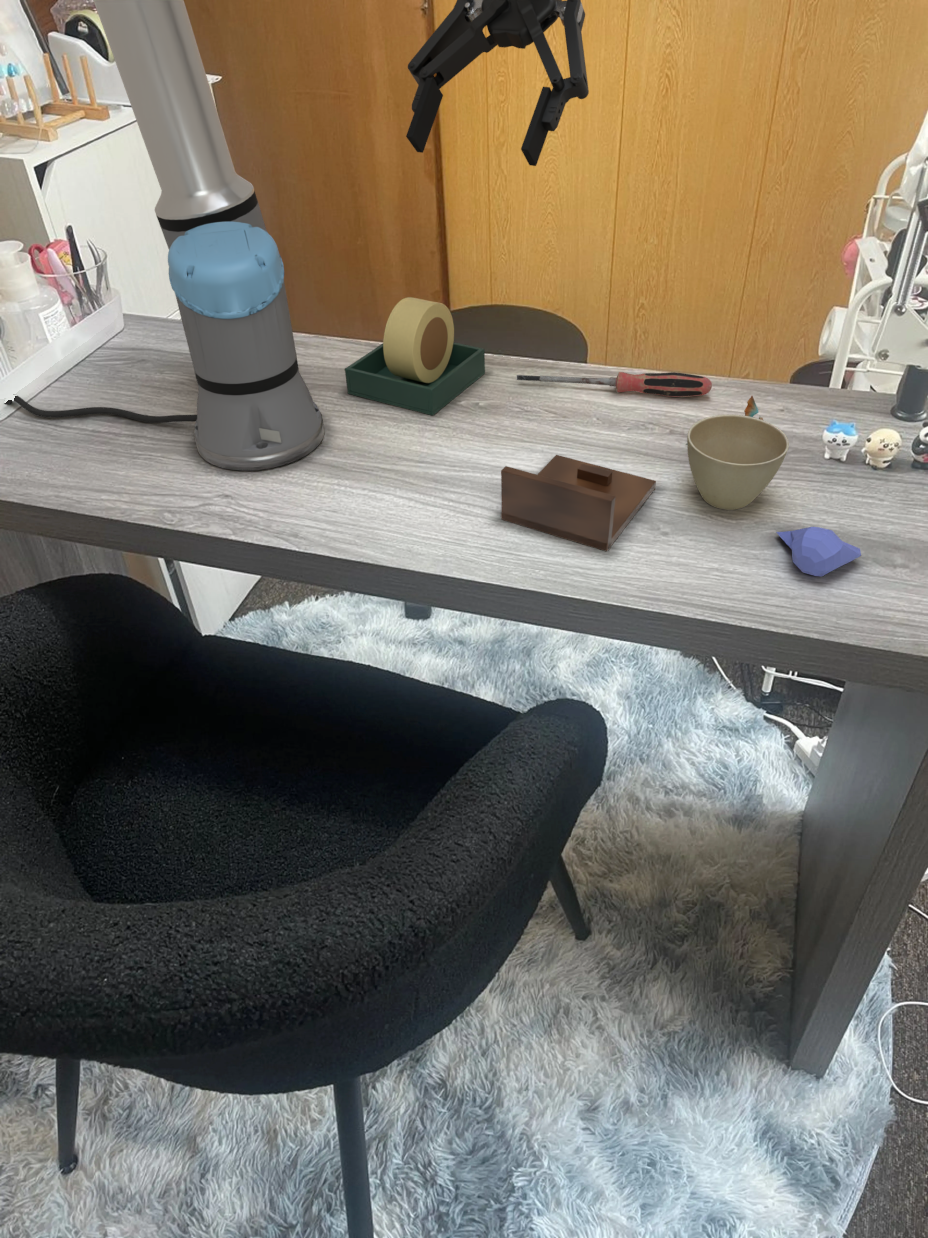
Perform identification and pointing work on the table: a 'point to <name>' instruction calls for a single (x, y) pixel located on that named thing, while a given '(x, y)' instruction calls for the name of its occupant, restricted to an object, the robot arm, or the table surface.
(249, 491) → the table surface
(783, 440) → the flower pot
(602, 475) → the phone holder
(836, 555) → the bird figurine
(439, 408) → the tray
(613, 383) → the screwdriver
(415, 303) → the tape roll
